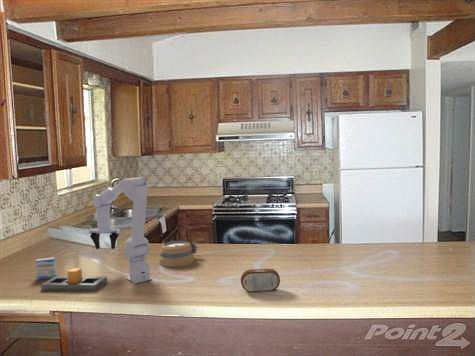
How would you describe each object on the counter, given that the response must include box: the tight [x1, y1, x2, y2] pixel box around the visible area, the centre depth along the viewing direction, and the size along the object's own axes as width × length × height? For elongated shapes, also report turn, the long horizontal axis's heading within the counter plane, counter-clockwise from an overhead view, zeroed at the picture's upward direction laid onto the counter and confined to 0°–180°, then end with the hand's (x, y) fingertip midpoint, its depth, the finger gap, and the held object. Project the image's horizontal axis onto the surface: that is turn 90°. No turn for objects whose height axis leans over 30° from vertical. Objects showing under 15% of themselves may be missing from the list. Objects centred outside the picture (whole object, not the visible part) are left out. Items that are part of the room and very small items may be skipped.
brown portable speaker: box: [240, 268, 281, 293], centre depth 157 cm, size 15×3×8 cm, turn 92°
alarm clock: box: [158, 240, 199, 268], centre depth 203 cm, size 17×9×23 cm
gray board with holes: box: [40, 276, 108, 292], centre depth 172 cm, size 24×10×2 cm, turn 81°
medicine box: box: [35, 256, 58, 281], centre depth 185 cm, size 8×4×9 cm, turn 105°
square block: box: [66, 267, 83, 283], centre depth 172 cm, size 4×4×7 cm
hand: (105, 248), depth 191 cm, fingers open, 7 cm apart
